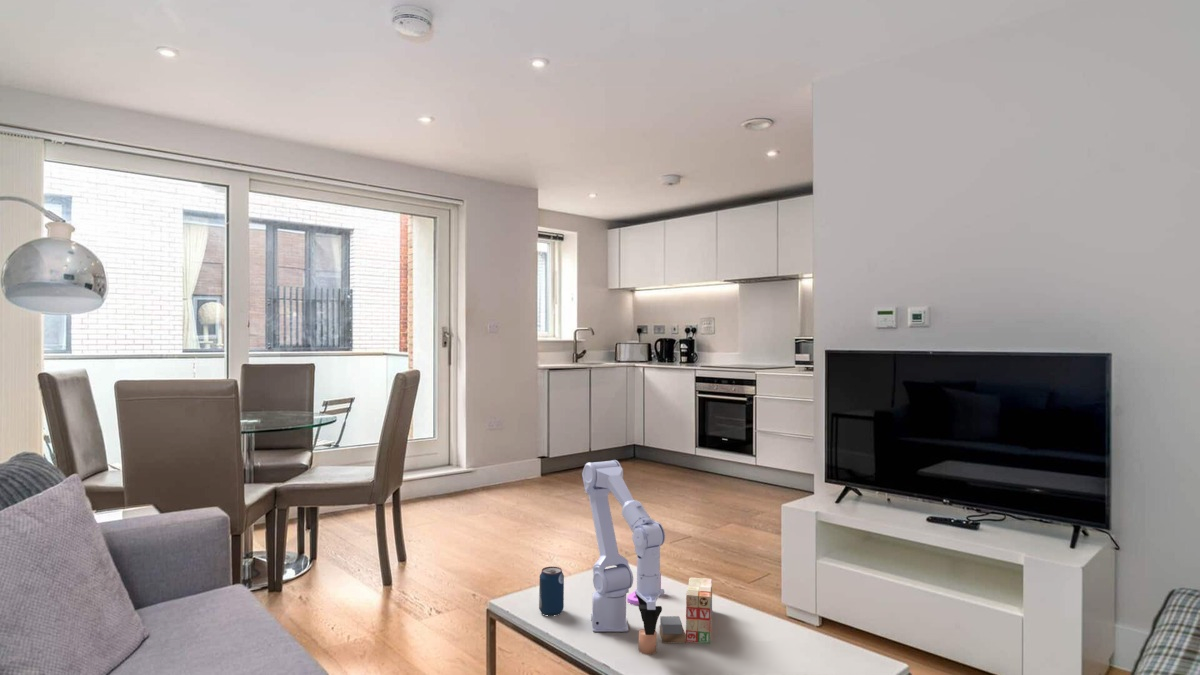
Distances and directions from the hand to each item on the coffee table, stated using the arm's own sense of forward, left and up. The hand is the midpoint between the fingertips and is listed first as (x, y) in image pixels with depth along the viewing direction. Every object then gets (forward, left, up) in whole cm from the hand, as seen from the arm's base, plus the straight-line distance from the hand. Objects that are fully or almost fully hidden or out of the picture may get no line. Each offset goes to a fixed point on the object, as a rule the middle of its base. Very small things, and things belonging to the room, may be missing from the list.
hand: (648, 627), depth 160 cm
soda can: (-25, +23, -6) cm, 35 cm away
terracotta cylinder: (0, 0, -6) cm, 6 cm away
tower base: (+7, +7, -6) cm, 12 cm away
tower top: (+7, +7, -4) cm, 10 cm away
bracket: (+2, +34, -6) cm, 35 cm away
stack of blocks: (+16, +14, -6) cm, 22 cm away
